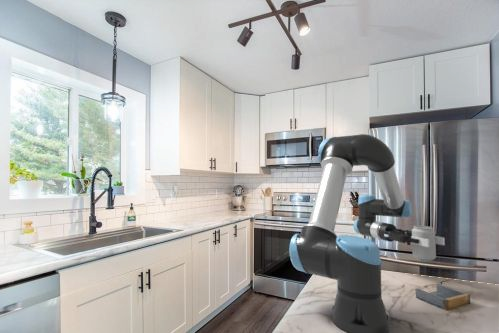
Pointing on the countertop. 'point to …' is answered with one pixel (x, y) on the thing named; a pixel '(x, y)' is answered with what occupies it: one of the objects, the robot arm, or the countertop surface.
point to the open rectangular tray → (444, 297)
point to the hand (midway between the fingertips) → (436, 242)
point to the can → (423, 251)
